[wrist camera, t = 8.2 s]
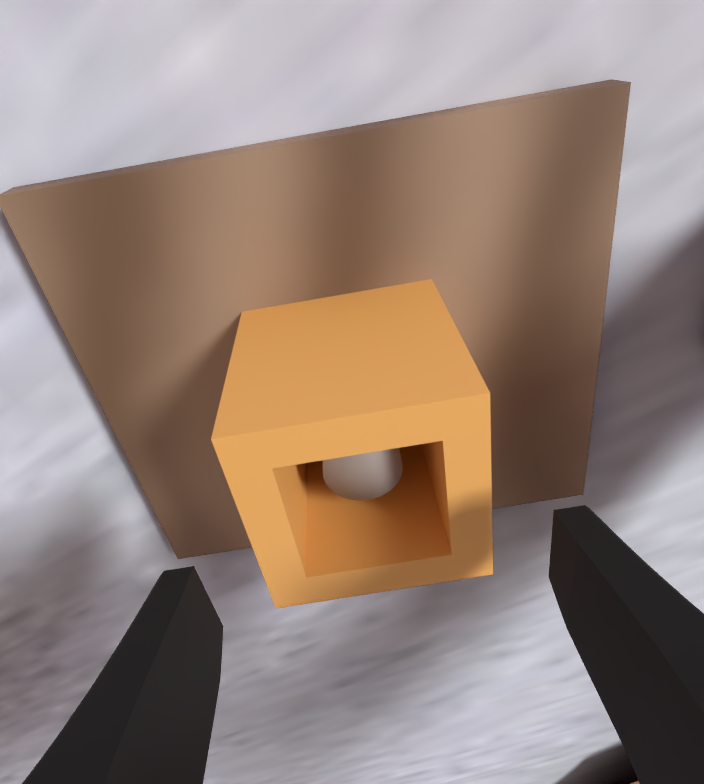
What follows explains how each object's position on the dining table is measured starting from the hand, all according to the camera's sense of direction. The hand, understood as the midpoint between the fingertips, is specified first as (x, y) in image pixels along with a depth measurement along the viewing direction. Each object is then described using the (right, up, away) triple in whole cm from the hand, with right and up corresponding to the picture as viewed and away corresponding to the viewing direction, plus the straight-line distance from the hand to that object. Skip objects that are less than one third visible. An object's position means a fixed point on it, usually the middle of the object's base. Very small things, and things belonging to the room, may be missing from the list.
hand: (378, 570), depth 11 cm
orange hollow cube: (-1, +4, +6) cm, 8 cm away
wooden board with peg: (-1, +5, +7) cm, 9 cm away
